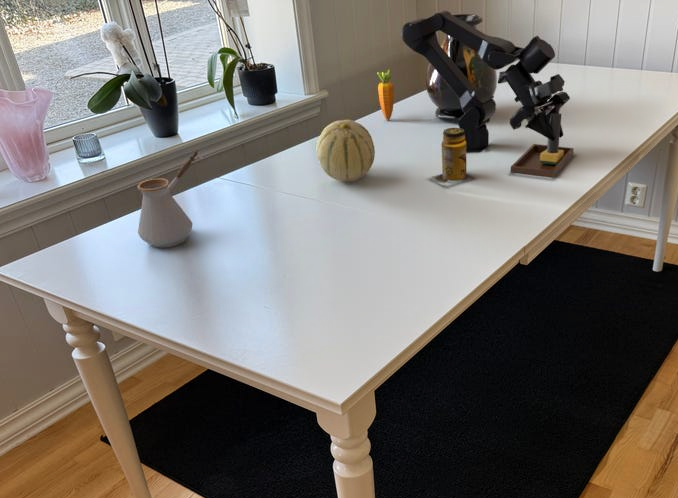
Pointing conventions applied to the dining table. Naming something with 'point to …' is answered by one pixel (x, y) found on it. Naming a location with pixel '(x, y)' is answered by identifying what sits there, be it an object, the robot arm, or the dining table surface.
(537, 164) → the tray
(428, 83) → the amphora vase
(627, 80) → the dining table surface
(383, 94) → the carrot
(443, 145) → the condiment
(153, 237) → the coffee pot
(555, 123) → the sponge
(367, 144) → the cantaloupe
